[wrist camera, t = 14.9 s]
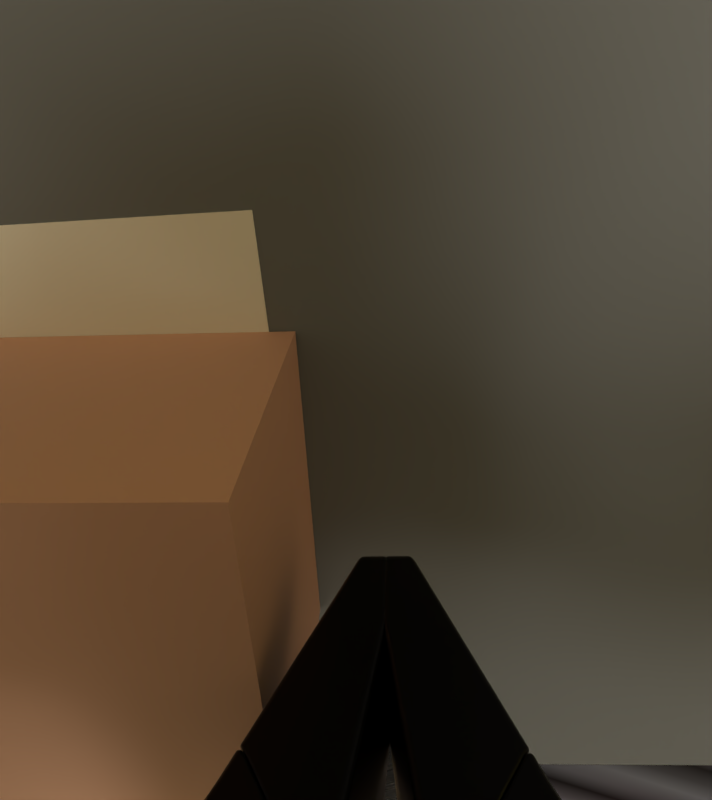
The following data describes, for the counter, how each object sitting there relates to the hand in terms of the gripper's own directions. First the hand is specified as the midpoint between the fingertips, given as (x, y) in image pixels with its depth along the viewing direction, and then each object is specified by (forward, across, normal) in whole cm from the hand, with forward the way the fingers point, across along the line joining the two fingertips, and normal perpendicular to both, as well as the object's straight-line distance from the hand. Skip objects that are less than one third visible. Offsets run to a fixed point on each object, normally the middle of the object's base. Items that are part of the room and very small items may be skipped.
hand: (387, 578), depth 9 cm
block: (+2, +4, 0) cm, 5 cm away
